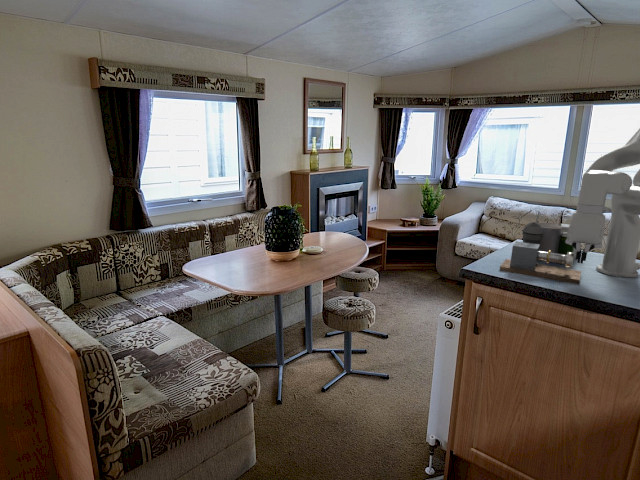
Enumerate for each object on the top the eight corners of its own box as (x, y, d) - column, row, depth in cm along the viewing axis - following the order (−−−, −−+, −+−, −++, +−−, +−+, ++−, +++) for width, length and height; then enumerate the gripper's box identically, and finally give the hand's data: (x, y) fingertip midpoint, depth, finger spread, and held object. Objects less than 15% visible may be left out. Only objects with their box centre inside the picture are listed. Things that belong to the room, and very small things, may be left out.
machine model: (580, 275, 148) (585, 249, 145) (579, 284, 138) (584, 257, 136) (505, 262, 161) (508, 239, 159) (499, 270, 151) (502, 245, 149)
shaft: (571, 265, 146) (574, 251, 144) (571, 269, 141) (573, 254, 140) (518, 256, 155) (519, 243, 154) (515, 260, 151) (517, 246, 149)
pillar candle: (529, 253, 174) (534, 218, 171) (556, 256, 170) (562, 221, 166) (530, 259, 166) (535, 223, 162) (557, 263, 162) (563, 225, 158)
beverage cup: (521, 257, 169) (528, 209, 164) (540, 260, 164) (548, 211, 159) (516, 261, 163) (523, 211, 158) (536, 265, 159) (544, 213, 154)
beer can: (566, 265, 158) (572, 235, 155) (552, 262, 163) (557, 232, 160) (574, 263, 161) (579, 233, 158) (559, 260, 166) (564, 231, 163)
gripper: (616, 210, 136) (605, 263, 141) (564, 205, 144) (556, 256, 149) (617, 213, 130) (606, 269, 135) (563, 208, 138) (554, 261, 142)
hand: (580, 262), depth 142 cm, fingers closed
